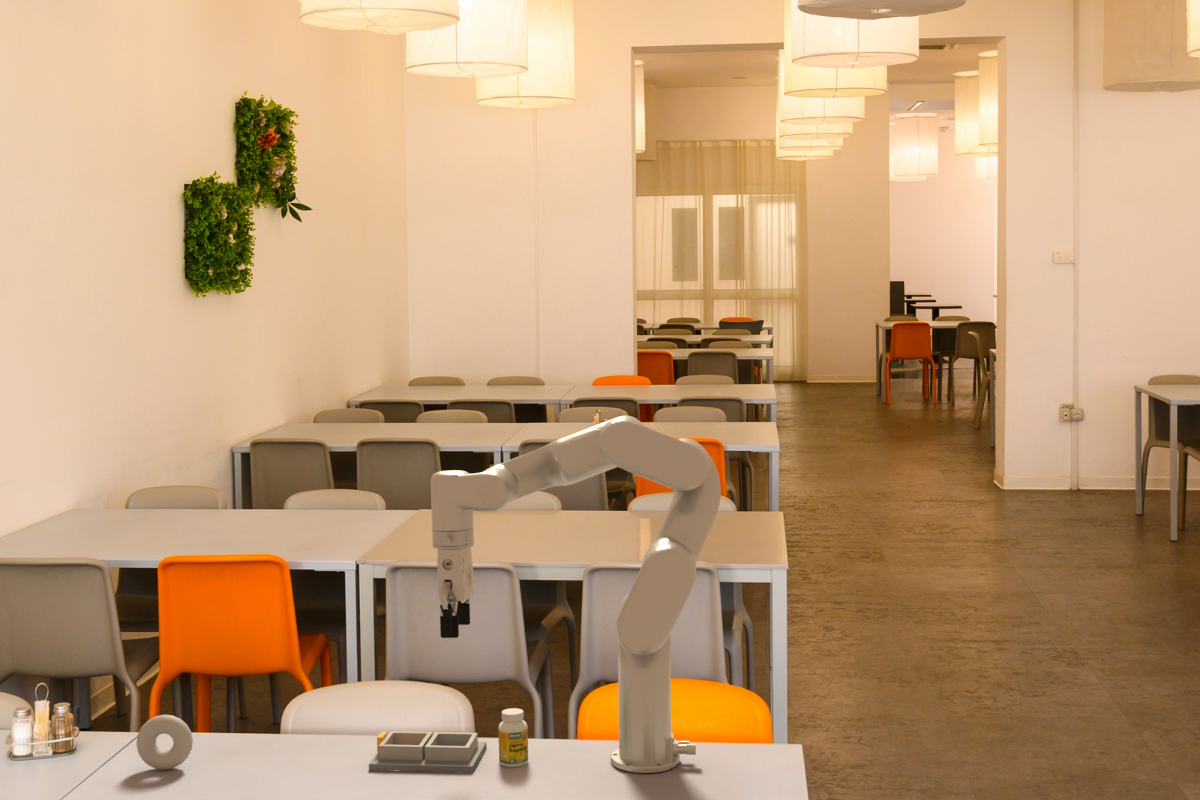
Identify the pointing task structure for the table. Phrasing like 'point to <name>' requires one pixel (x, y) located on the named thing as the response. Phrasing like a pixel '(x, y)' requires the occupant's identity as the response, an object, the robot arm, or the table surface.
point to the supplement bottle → (513, 738)
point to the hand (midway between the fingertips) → (455, 630)
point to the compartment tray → (427, 751)
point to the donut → (160, 757)
